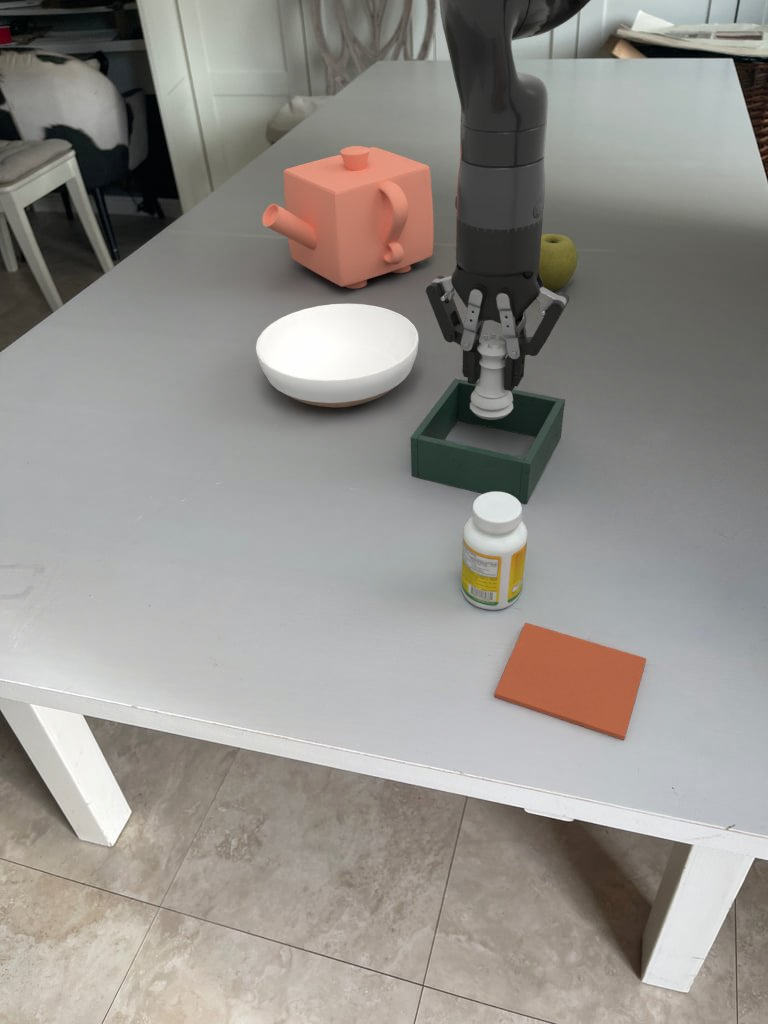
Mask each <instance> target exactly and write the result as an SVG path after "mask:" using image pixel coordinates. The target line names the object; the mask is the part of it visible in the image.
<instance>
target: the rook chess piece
mask: <svg viewBox="0 0 768 1024" xmlns="http://www.w3.org/2000/svg"><path fill="white" fill-rule="evenodd" d="M489 336H490V337H489ZM480 339H481V341H480V342H479V343H480V344H479V345H478V347H477V349H478V351H479V352H480V354H481V355H482V358H481V359H480V360H479V364H480V365H481V373H480V378H479V380H478V381H477V382H478V384H477V386H476V387H475V390H474V391H473V392H472V394H471V401H472V402H471V403H470V409H471V410H472V411H473V412H474V413H475V415H476V416H478V417H480V418H483V419H487V420H496V419H501V418H503V417H505V416H507V415H508V414H509V413H510V412H511V411H512V409H513V403H512V401H513V396H512V393H511V392H510V391H508V390H505V389H504V385H505V366H506V357H507V356H508V352H507V345H506V339H505V337H503V333H502V334H501V333H500V334H499V337H497V333H495V332H494V333H493V332H492V333H491V335H489V334H488V333H487V334H484V335H482V337H481V338H480Z"/></svg>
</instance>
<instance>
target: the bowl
mask: <svg viewBox="0 0 768 1024" xmlns="http://www.w3.org/2000/svg"><path fill="white" fill-rule="evenodd" d="M419 340H420V339H419V332H418V330H417V328H416V326H415V325H414V323H412V321H410V320H409V319H408V318H407V317H405V316H404V315H402V314H400V313H398V312H396V311H393V310H391V309H388V308H384V307H380V306H376V305H371V304H364V303H332V304H323V305H316V306H312V307H308V308H303V309H300V310H297V311H295V312H291V313H289V314H287V315H284V316H282V317H280V318H278V319H277V320H275V321H273V322H272V323H270V324H269V325H268V326H267V327H266V328H265V329H263V330H262V332H261V333H260V335H259V336H258V338H257V339H256V343H255V353H256V356H257V360H258V363H259V366H260V369H261V370H262V372H263V373H264V375H265V377H266V378H267V380H268V382H269V384H270V385H271V386H273V388H275V389H276V390H277V391H278V392H281V393H283V394H284V395H286V396H288V397H289V398H292V399H293V400H296V401H297V402H301V403H303V404H306V405H311V406H318V407H325V408H349V407H354V406H358V405H363V404H365V403H368V402H371V401H373V400H376V399H379V398H381V397H383V396H385V395H387V394H388V393H389V392H390V391H392V390H393V389H395V387H397V386H399V385H400V384H401V383H402V382H403V381H405V380H406V378H407V377H408V376H409V374H410V373H411V371H412V369H413V367H414V364H415V361H416V358H417V355H418V351H419Z"/></svg>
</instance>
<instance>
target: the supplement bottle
mask: <svg viewBox="0 0 768 1024" xmlns="http://www.w3.org/2000/svg"><path fill="white" fill-rule="evenodd" d="M471 510H472V511H471V517H469V519H468V520H467V521H466V523H465V524H464V527H463V531H462V553H461V554H462V556H461V578H460V579H461V580H460V583H461V585H460V587H461V591H462V595H463V596H464V598H465V599H466V600H467V601H468V603H470V604H472V605H473V606H474V607H477V608H480V609H483V610H489V611H497V610H502V609H506V608H508V607H511V606H512V605H513V604H514V603H516V601H517V600H518V599H519V598H520V596H521V594H522V590H523V582H524V572H525V563H526V553H527V544H528V530H527V527H526V524H525V523H524V522H523V520H522V519H523V518H522V515H523V514H522V513H523V507H522V503H520V502H519V500H518V499H517V498H515V497H514V496H512V495H510V494H508V493H504V492H488V493H484V494H483V493H481V494H480V495H479V496H477V497H476V498H475V499H474V501H473V503H472V508H471Z"/></svg>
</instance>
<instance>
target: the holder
mask: <svg viewBox="0 0 768 1024" xmlns="http://www.w3.org/2000/svg"><path fill="white" fill-rule="evenodd" d="M467 380H468V379H467ZM467 380H466V379H461V378H454V379H453V380H452V381H451V383H450V384H449V385H448V387H447V388H446V389H445V391H444V392H443V394H442V395H441V396H440V397H439V398H438V399H437V400H436V401H437V402H436V403H435V404H434V405H433V407H432V408H431V409H430V411H429V412H428V414H427V415H426V416H425V417H424V419H423V420H422V421H421V423H420V424H419V425H418V427H417V428H416V429H415V431H414V432H413V433H412V434H411V436H410V437H409V438H410V469H411V471H410V472H411V477H414V478H418V479H421V480H424V481H425V480H426V481H429V482H433V483H434V482H435V483H439V484H441V485H442V484H443V485H446V486H450V487H455V488H459V489H461V490H462V489H463V490H466V491H471V492H475V493H478V494H484V493H488V492H504V493H508V494H510V495H512V496H514V497H515V498H517V499H518V500H519V502H520V503H521V504H523V505H528V503H529V501H530V498H531V497H532V495H533V493H534V491H535V490H536V487H537V485H538V483H539V481H540V479H541V477H542V475H543V473H544V471H545V469H546V468H547V466H548V463H549V462H550V459H551V457H552V456H553V454H554V452H555V450H556V448H557V446H558V444H559V443H560V440H561V439H562V438H561V437H562V429H563V420H564V413H565V412H564V411H565V406H566V405H565V404H566V399H564V398H561V397H560V398H559V397H555V396H554V397H553V396H550V395H544V394H539V393H533V392H529V391H524V390H519V389H515V388H514V389H513V390H512V391H510V392H511V393H512V396H513V401H512V403H513V409H512V411H511V412H510V413H509V414H508V415H507V416H505V417H503V418H501V419H496V420H487V419H483V418H480V417H478V416H476V415H475V413H474V412H473V411H472V410H471V409H470V403H471V402H472V401H471V394H472V392H473V391H474V390H475V387H476V386H477V384H478V382H479V381H477V382H476V384H470V383H468V381H467ZM459 421H460V422H465V423H468V424H469V423H470V424H474V425H479V426H484V427H488V428H491V429H492V428H493V429H497V430H502V431H506V432H512V433H516V434H521V435H526V436H531V437H534V438H535V439H534V440H533V443H532V444H531V446H530V448H529V450H528V451H527V452H526V453H527V454H526V455H525V457H521V456H517V455H512V454H508V453H503V452H498V451H493V450H490V449H485V448H481V447H475V446H472V445H468V444H462V443H459V442H454V441H449V440H446V439H447V437H448V435H449V434H450V432H451V431H452V430H453V428H454V427H455V425H456V424H457V422H459Z"/></svg>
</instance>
